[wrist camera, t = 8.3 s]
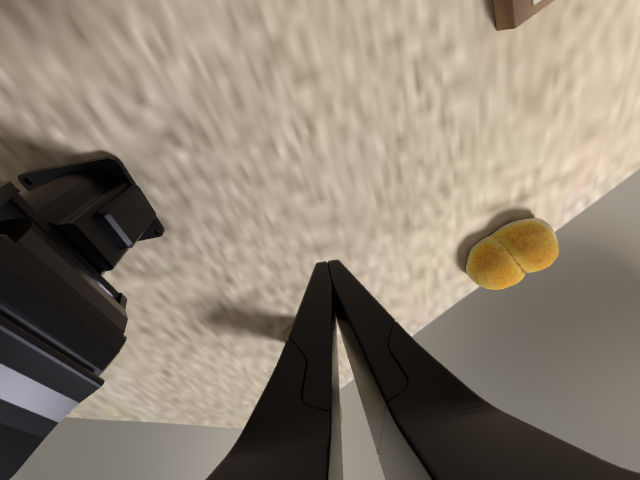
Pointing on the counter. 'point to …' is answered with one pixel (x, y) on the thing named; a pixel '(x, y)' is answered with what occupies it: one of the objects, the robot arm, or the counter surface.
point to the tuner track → (516, 11)
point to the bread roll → (512, 253)
